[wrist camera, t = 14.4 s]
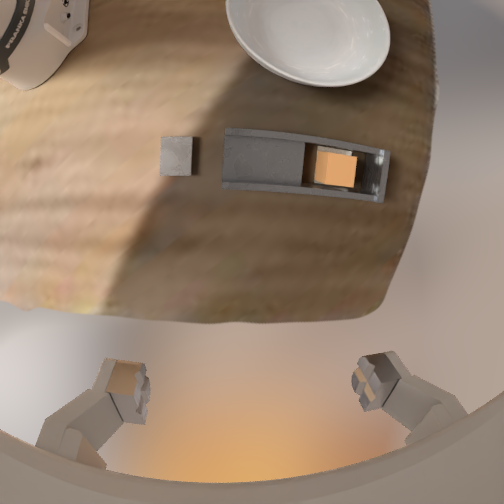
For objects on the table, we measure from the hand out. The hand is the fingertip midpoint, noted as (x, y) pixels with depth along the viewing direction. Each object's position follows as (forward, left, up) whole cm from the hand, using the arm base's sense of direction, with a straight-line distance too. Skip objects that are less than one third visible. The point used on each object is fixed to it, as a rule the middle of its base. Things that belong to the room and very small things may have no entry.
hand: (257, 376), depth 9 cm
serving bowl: (-26, +8, -29) cm, 40 cm away
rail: (-6, +9, -29) cm, 31 cm away
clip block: (-6, +13, -29) cm, 32 cm away
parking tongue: (-6, -7, -29) cm, 31 cm away
